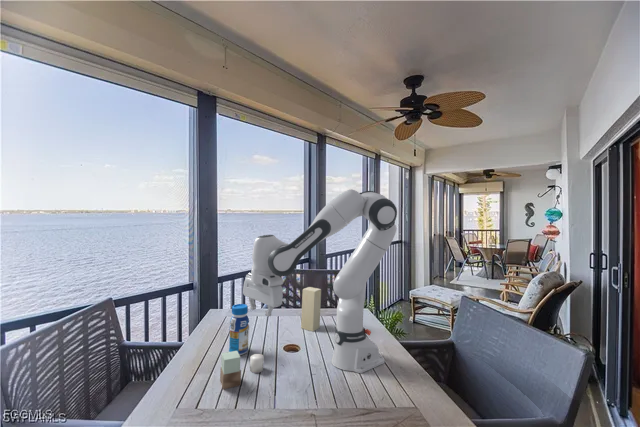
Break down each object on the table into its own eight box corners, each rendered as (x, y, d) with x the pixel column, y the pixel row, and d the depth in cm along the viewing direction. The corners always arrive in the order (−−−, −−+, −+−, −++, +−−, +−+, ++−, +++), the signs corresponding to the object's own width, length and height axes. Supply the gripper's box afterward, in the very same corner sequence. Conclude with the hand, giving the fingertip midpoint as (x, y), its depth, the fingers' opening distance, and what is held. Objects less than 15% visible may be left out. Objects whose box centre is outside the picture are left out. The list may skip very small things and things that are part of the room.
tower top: (236, 364, 111) (237, 350, 111) (239, 371, 106) (240, 357, 106) (221, 367, 109) (221, 353, 109) (223, 374, 104) (224, 360, 104)
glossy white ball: (261, 365, 121) (261, 352, 121) (264, 371, 116) (265, 358, 116) (248, 368, 118) (249, 355, 118) (251, 374, 114) (252, 361, 114)
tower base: (236, 376, 112) (237, 363, 112) (240, 385, 106) (241, 371, 106) (220, 380, 109) (220, 366, 109) (223, 389, 104) (223, 374, 104)
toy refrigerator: (320, 327, 162) (322, 288, 162) (313, 331, 156) (314, 291, 156) (308, 324, 167) (309, 286, 167) (300, 328, 160) (302, 289, 160)
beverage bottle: (229, 348, 135) (230, 303, 135) (248, 346, 137) (249, 302, 137) (228, 356, 127) (229, 309, 127) (248, 355, 129) (250, 308, 129)
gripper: (240, 272, 120) (238, 307, 120) (273, 283, 107) (270, 322, 107) (253, 271, 125) (251, 304, 125) (286, 280, 111) (284, 318, 112)
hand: (260, 312), depth 116 cm, fingers open, 8 cm apart
